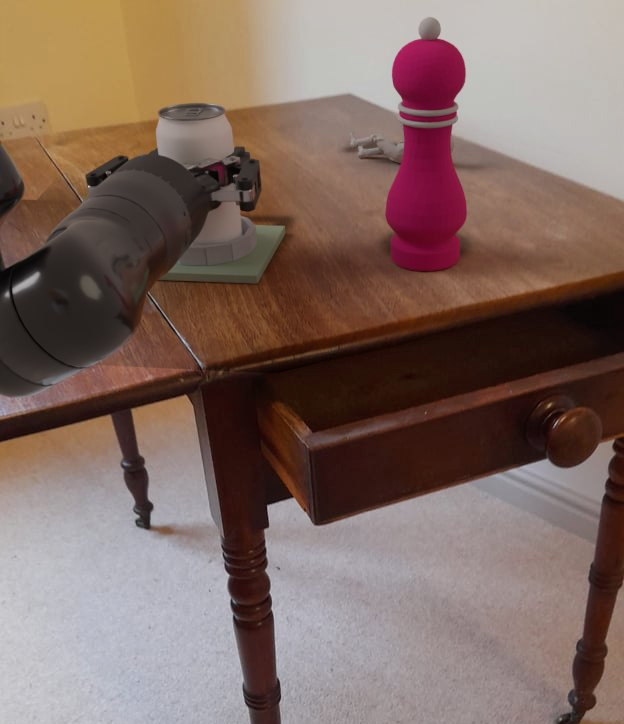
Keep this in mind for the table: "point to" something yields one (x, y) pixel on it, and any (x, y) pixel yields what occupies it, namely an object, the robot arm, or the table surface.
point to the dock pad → (238, 267)
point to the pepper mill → (427, 154)
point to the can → (201, 157)
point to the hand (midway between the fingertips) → (204, 157)
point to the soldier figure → (382, 146)
